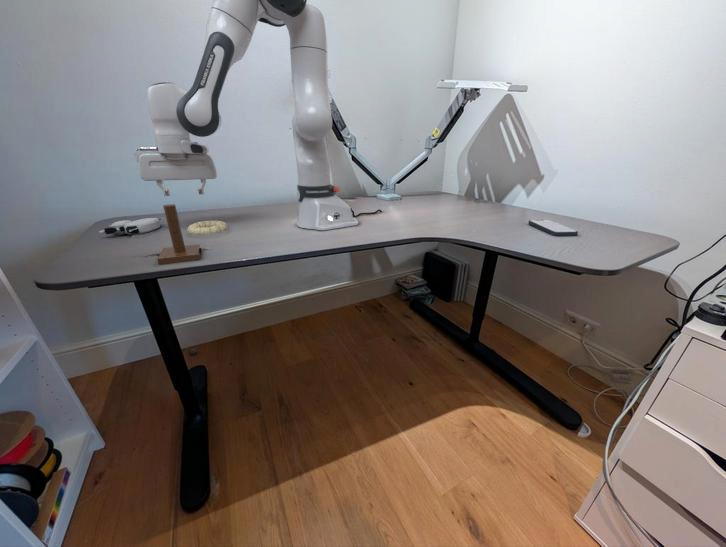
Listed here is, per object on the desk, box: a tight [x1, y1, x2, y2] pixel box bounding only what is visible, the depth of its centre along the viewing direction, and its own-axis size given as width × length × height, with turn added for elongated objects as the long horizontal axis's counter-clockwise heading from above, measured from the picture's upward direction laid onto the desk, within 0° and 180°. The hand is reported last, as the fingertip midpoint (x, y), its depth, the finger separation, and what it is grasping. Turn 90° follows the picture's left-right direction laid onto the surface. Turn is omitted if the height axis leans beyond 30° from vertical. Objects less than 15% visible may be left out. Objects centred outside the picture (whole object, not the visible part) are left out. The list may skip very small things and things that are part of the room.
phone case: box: [527, 219, 579, 237], centre depth 110 cm, size 9×2×16 cm
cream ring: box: [186, 220, 229, 235], centre depth 103 cm, size 12×12×3 cm
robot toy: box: [98, 217, 165, 236], centre depth 101 cm, size 12×4×15 cm
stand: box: [157, 203, 202, 265], centre depth 80 cm, size 9×9×14 cm
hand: (184, 195), depth 97 cm, fingers open, 8 cm apart
